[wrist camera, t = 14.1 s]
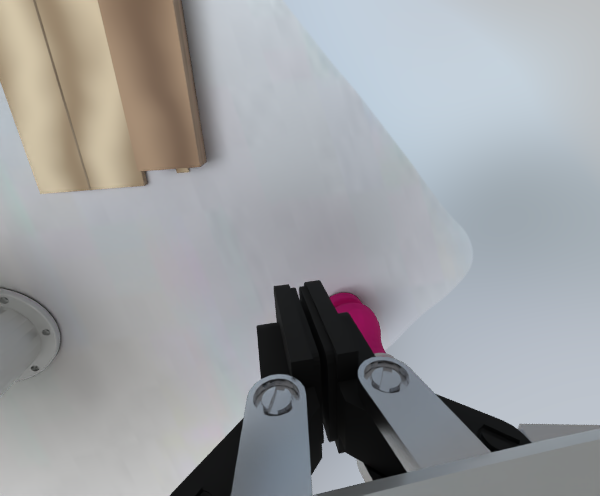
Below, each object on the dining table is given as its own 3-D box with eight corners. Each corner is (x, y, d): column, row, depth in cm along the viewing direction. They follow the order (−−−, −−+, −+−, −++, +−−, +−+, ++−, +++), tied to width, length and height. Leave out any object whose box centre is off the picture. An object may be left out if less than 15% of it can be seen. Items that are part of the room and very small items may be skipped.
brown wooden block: (155, 165, 33) (137, 171, 28) (115, -17, 28) (84, -55, 22) (206, 161, 34) (200, 166, 29) (179, -16, 28) (164, -52, 23)
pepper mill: (372, 294, 44) (467, 409, 25) (353, 336, 46) (429, 471, 27) (327, 283, 42) (394, 399, 23) (309, 327, 44) (359, 466, 25)
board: (47, 191, 32) (40, 193, 31) (-37, -51, 25) (-51, -61, 24) (190, 180, 34) (189, 182, 33) (150, -46, 27) (146, -54, 26)
